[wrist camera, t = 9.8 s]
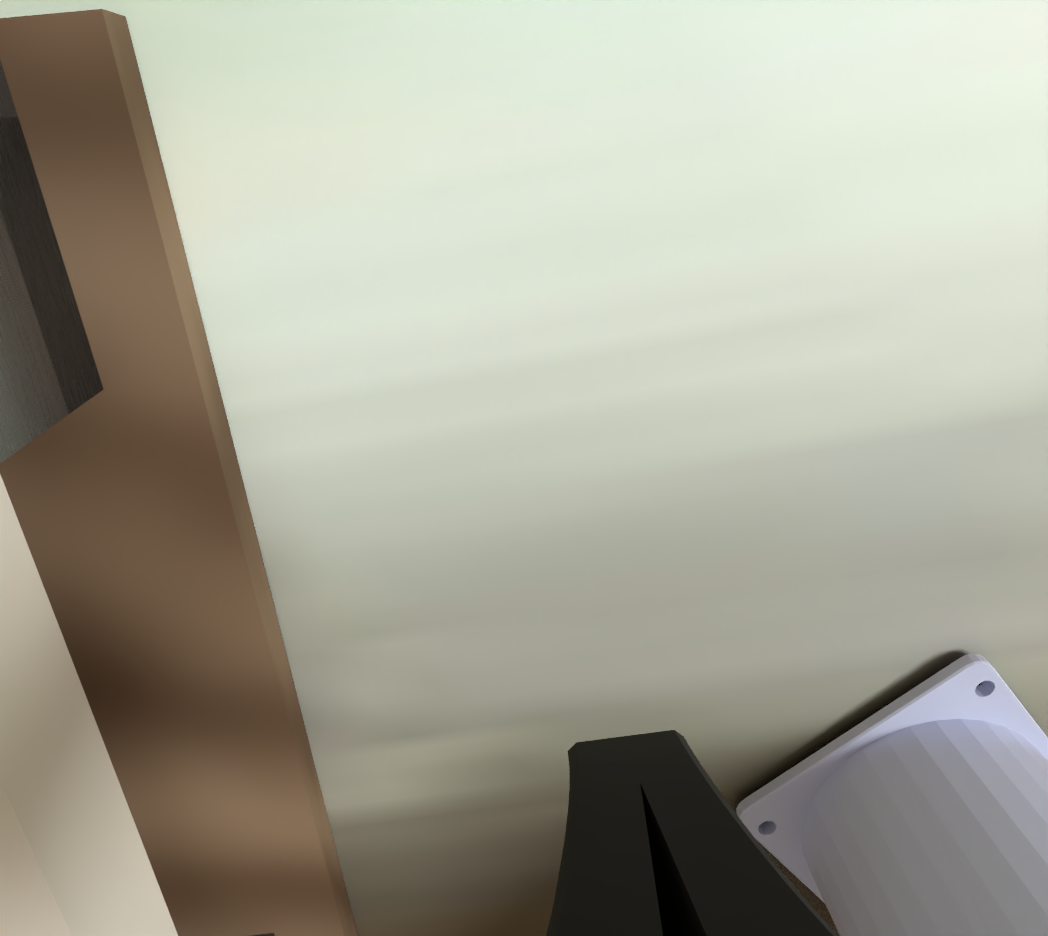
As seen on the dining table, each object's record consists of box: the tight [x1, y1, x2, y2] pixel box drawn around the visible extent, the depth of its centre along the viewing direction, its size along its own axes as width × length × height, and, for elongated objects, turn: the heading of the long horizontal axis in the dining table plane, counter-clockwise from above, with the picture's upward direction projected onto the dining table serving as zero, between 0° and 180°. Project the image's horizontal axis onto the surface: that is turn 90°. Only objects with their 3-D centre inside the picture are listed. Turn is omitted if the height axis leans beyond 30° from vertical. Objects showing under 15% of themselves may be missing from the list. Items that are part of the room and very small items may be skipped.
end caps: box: [0, 60, 275, 936], centre depth 17 cm, size 28×6×4 cm, turn 5°
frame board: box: [0, 9, 358, 936], centre depth 19 cm, size 29×10×1 cm, turn 5°
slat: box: [0, 474, 178, 936], centre depth 16 cm, size 24×3×3 cm, turn 5°
